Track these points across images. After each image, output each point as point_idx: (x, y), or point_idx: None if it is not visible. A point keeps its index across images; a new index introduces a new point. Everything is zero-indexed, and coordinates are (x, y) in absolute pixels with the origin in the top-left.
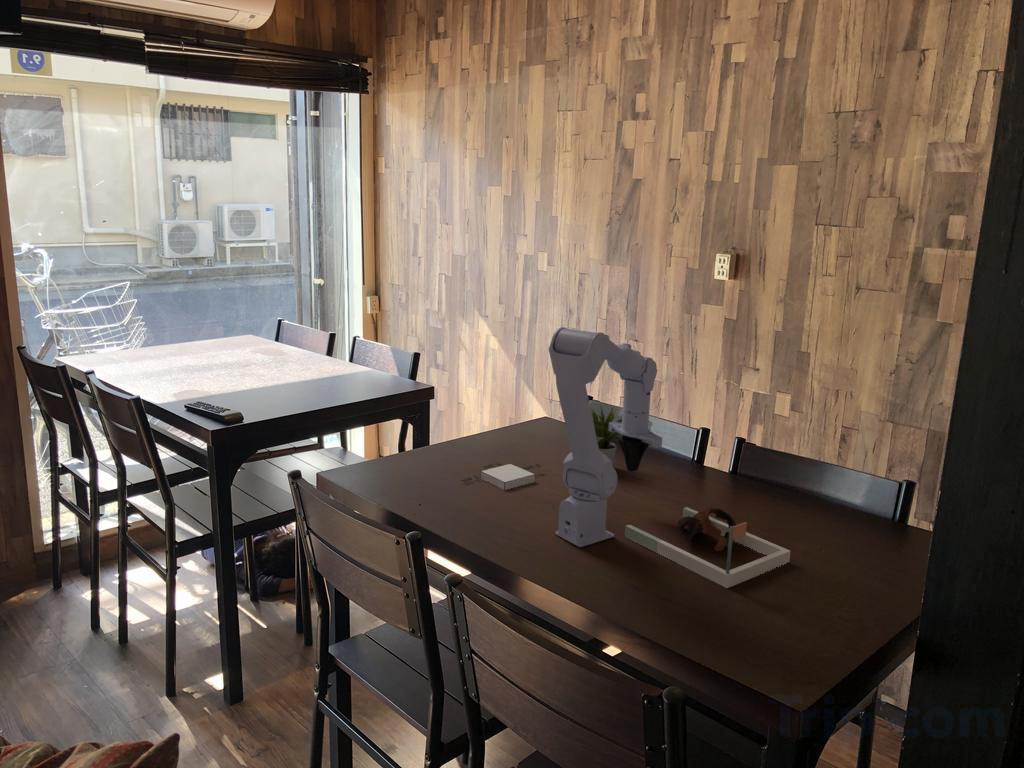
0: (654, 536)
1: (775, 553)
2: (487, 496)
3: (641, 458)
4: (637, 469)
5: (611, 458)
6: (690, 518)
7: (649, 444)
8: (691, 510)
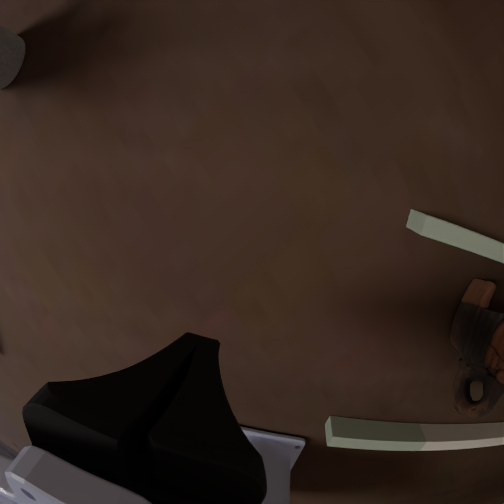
0: (408, 441)
1: None
2: (9, 388)
3: (220, 377)
4: (218, 345)
5: (1, 48)
6: (493, 405)
7: (261, 457)
8: (448, 233)
